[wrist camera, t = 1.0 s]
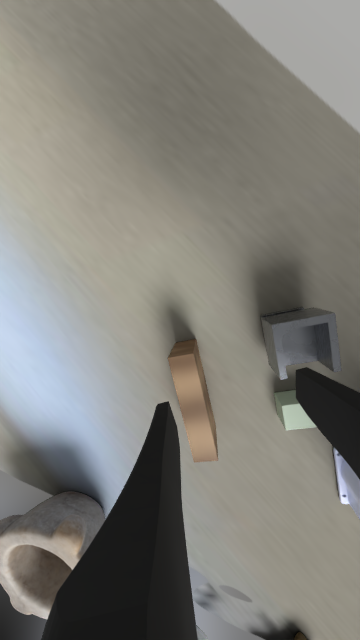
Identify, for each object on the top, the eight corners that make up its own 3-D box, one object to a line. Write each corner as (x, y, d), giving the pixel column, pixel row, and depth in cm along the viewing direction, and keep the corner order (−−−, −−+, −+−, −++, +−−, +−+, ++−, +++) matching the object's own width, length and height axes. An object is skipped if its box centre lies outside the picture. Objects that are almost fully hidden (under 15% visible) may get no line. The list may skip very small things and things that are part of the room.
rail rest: (315, 410, 27) (328, 425, 25) (277, 414, 28) (285, 430, 25) (312, 387, 27) (325, 400, 24) (273, 392, 28) (281, 405, 25)
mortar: (27, 472, 37) (-31, 534, 28) (110, 470, 34) (76, 538, 25) (52, 543, 40) (7, 619, 31) (131, 547, 37) (107, 631, 28)
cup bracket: (311, 350, 26) (341, 370, 20) (264, 358, 27) (280, 379, 21) (304, 305, 25) (335, 312, 19) (256, 315, 26) (271, 325, 20)
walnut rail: (215, 425, 30) (218, 460, 24) (196, 427, 31) (194, 462, 25) (196, 338, 28) (193, 353, 22) (175, 342, 28) (167, 357, 23)
